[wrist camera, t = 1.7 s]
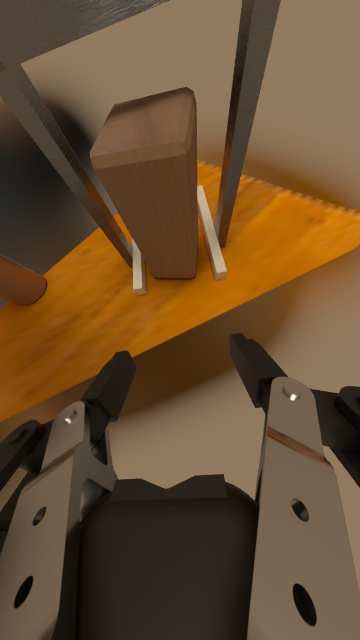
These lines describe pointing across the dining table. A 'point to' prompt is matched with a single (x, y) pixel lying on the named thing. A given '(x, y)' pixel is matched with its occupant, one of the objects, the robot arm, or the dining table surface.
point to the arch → (90, 16)
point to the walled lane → (211, 243)
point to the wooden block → (154, 177)
